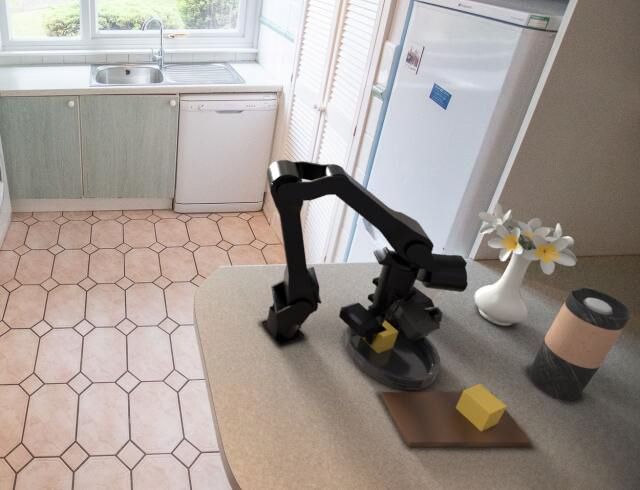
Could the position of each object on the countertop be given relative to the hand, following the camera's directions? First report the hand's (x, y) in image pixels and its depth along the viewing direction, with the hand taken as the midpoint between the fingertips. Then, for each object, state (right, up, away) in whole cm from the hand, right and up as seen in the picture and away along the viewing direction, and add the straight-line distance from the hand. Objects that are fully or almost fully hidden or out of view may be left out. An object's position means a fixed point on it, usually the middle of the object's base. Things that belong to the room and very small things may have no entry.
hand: (376, 340), depth 93 cm
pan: (+1, -2, -2) cm, 3 cm away
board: (+5, -8, -14) cm, 17 cm away
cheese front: (+9, -7, -15) cm, 19 cm away
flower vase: (+30, +2, +8) cm, 31 cm away
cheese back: (0, 0, 0) cm, 0 cm away
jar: (+14, +4, +11) cm, 18 cm away
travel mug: (+29, -5, -8) cm, 30 cm away
